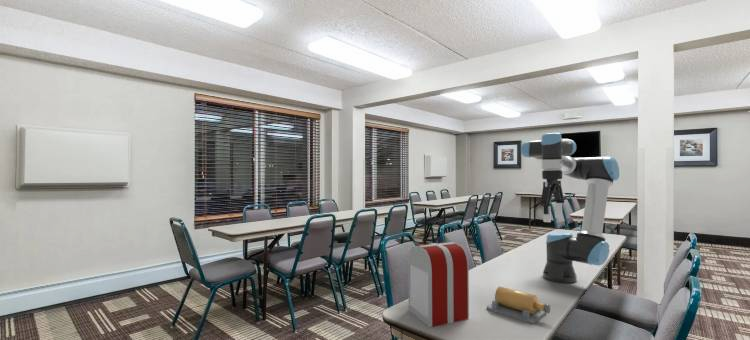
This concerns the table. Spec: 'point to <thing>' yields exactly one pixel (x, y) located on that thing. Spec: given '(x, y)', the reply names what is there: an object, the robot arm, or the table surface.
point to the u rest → (516, 313)
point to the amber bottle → (519, 300)
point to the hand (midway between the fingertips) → (553, 219)
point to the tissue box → (439, 283)
